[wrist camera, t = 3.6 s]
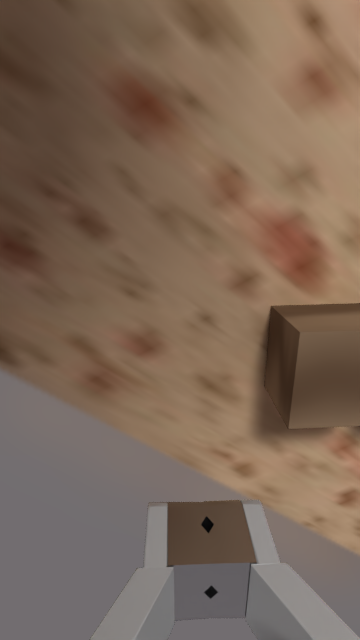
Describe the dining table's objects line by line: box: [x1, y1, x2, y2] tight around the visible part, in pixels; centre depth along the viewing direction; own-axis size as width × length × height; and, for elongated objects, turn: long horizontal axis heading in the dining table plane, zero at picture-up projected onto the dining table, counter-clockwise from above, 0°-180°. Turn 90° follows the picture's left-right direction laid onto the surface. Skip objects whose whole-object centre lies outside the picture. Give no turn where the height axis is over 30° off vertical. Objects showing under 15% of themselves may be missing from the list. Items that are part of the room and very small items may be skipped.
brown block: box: [264, 303, 360, 429], centre depth 16 cm, size 5×5×4 cm
